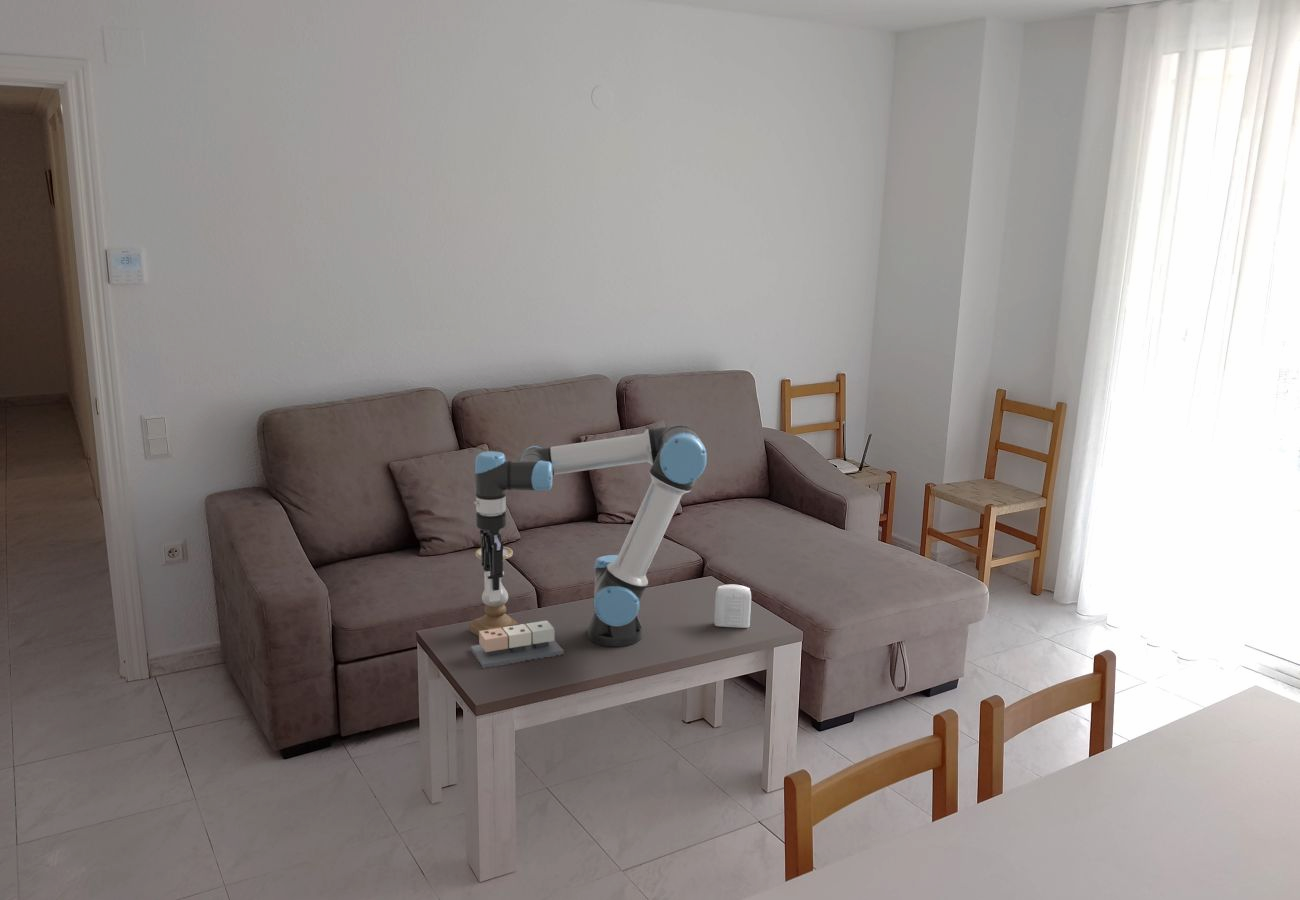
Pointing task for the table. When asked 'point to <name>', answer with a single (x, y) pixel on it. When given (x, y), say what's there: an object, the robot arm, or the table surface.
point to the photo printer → (732, 606)
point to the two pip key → (518, 635)
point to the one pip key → (541, 632)
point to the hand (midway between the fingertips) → (492, 597)
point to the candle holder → (494, 606)
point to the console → (516, 653)
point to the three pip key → (493, 639)
